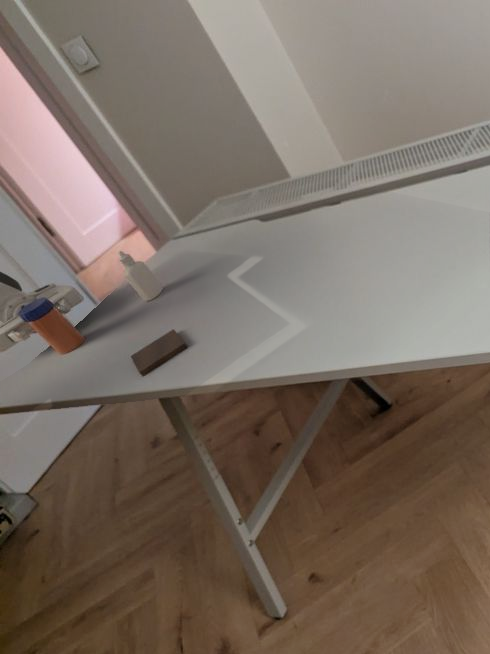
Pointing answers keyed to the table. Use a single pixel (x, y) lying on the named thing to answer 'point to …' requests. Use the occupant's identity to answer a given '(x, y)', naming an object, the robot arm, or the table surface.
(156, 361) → the board
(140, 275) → the eye dropper bottle
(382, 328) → the table surface
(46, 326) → the jar
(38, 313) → the lid
